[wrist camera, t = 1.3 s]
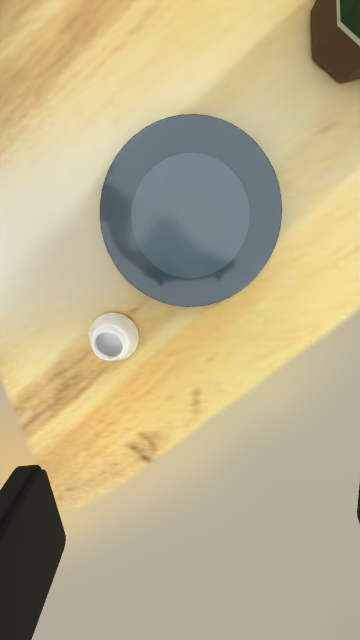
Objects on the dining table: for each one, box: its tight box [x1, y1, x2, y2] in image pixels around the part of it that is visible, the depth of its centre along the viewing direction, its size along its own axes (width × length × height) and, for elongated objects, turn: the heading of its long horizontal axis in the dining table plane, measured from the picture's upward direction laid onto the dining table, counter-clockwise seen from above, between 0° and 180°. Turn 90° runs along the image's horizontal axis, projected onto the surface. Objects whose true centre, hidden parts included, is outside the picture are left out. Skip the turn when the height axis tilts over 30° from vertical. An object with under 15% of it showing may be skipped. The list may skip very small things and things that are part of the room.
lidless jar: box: [88, 312, 139, 361], centre depth 30 cm, size 5×3×5 cm
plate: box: [100, 114, 282, 307], centre depth 27 cm, size 16×16×1 cm
